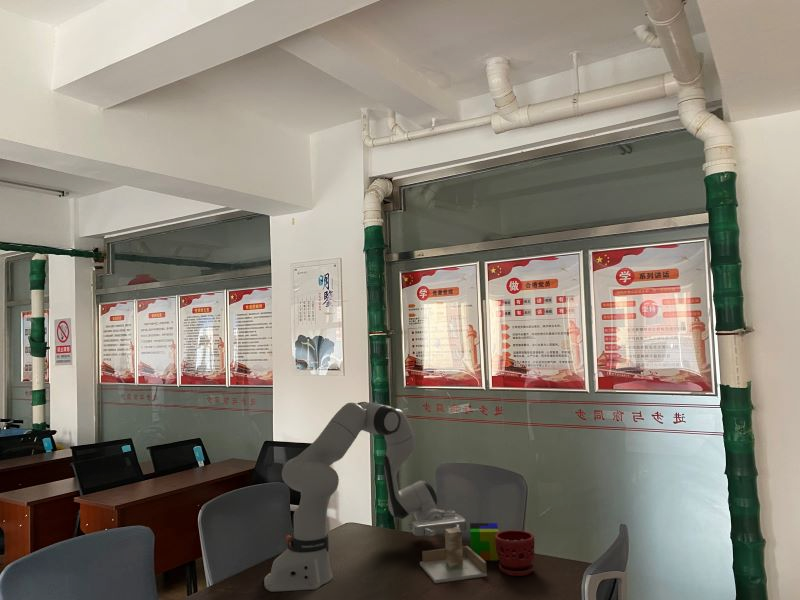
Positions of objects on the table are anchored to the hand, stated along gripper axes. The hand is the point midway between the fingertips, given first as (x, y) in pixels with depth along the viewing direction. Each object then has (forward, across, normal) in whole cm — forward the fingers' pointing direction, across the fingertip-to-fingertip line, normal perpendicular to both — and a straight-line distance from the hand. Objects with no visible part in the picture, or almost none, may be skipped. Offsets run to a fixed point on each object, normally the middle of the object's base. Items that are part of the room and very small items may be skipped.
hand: (445, 532), depth 219 cm
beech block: (+9, 0, +9) cm, 12 cm away
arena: (+9, -1, +10) cm, 13 cm away
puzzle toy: (0, +15, +10) cm, 18 cm away
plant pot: (+17, +19, +10) cm, 27 cm away
